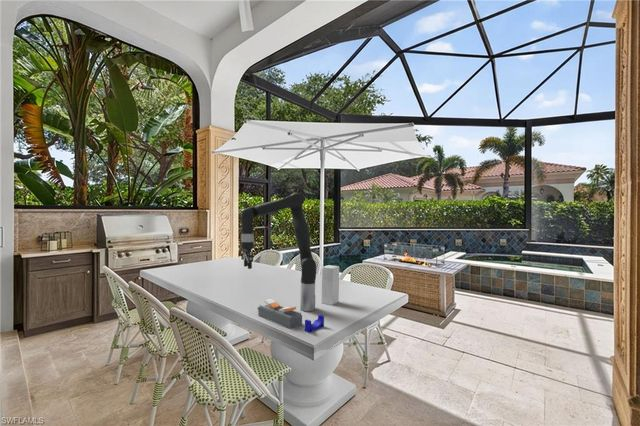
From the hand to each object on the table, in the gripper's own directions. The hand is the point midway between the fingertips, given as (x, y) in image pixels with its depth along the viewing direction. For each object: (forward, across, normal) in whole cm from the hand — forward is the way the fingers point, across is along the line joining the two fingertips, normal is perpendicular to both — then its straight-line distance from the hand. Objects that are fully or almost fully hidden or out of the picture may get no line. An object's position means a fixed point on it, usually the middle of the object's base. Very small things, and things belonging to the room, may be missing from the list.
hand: (247, 267), depth 185 cm
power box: (+28, -16, -12) cm, 35 cm away
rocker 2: (+22, -25, -16) cm, 37 cm away
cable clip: (+29, -38, -25) cm, 54 cm away
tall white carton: (+30, -3, -56) cm, 64 cm away
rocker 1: (+21, -12, -11) cm, 27 cm away
